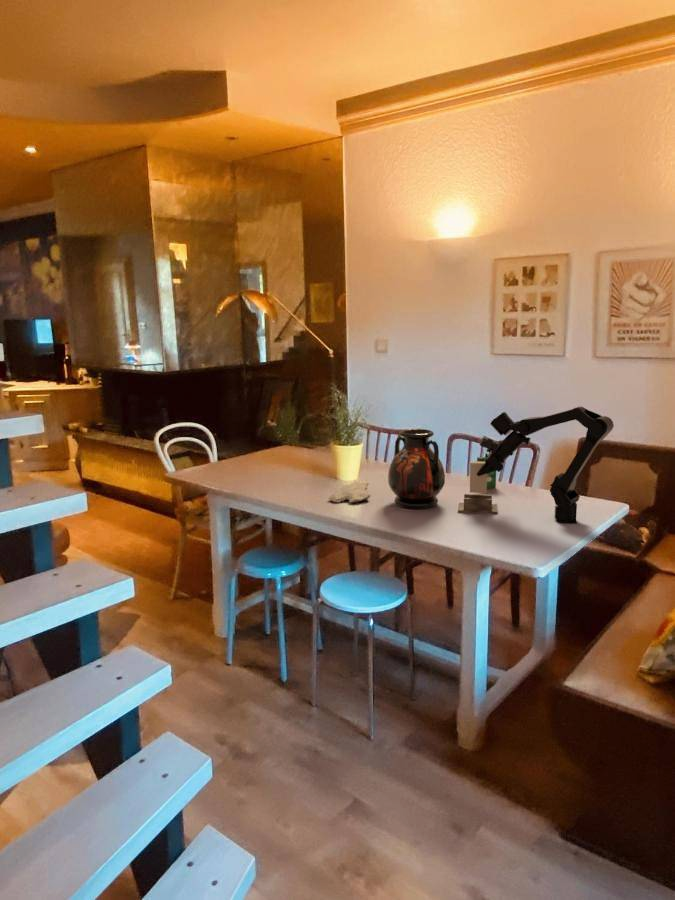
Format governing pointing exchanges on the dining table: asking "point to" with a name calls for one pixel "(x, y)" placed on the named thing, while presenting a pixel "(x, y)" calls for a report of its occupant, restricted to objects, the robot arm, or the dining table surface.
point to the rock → (351, 492)
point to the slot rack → (477, 504)
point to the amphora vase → (416, 470)
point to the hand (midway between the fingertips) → (477, 474)
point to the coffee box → (489, 475)
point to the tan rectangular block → (477, 478)
